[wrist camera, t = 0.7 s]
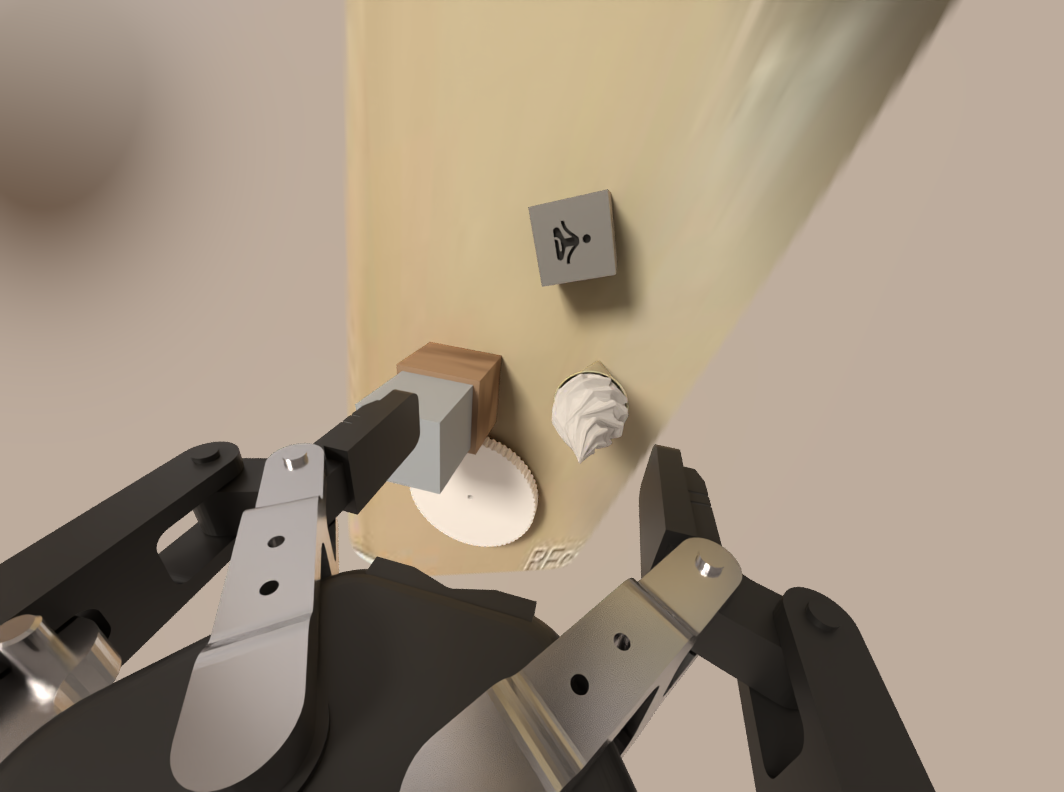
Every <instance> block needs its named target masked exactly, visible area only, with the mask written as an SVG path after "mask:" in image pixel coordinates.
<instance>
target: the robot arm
mask: <svg viewBox="0 0 1064 792" xmlns="http://www.w3.org/2000/svg"><path fill="white" fill-rule="evenodd" d="M419 437H420V416H419V399H418V396H417V394H415V393H411V392H406V391H402V390H397V389H394V390H392V391H391V392H390V393H388V394H387V395H386V396H385V397H383V398H382V399H381V400H375V401H373V402H370V403H368V404H365V405H363V406H361V407H360V408H359V409H358V410H356V411H355V412H354V413H352V416H351V415H350V416H349V417H347V418H346V419H345V420H344V421H343V422H341V423H339V424H338V425H337V426H336V427H334V428H333V429H332V430H330V431H329V432H328V433H327V434H325V435H324V436H323V437H321V438H320V439H319V440H317V441H316V442H315V443H314V444H310V443H300V444H294V445H290V446H286V447H283V448H281V449H279V450H277V451H276V452H274V453H273V454H271V455H270V457H268V458H266V459H265V458H264V459H263V458H260V459H259V458H252V459H251V458H242V457H241V454H240V451H239V448H238V447H237V446H236V445H235V444H233V443H230V442H211V443H207V444H202V445H199V446H196V447H193V448H191V449H189V450H187V451H185V452H183V453H182V454H180V455H178V456H177V457H175V458H173V459H172V460H170V461H169V462H167V463H165V464H163V465H162V466H160V467H159V468H157V469H155V470H154V471H152V472H150V473H149V474H147V475H145V476H144V477H142V478H141V479H139V480H137V481H136V482H134V483H132V484H131V485H129V486H127V487H126V488H124V489H122V490H121V491H119V492H118V493H116V494H114V495H113V496H111V497H109V498H108V499H106V500H104V501H103V502H101V503H99V504H98V505H97V506H95V507H93V508H91V509H90V510H88V511H86V512H85V513H83V514H81V515H80V516H78V517H77V518H75V519H73V520H72V521H70V522H68V523H67V524H65V525H63V526H62V527H60V528H58V529H57V530H55V531H54V532H52V533H50V534H49V535H47V536H45V537H44V538H42V539H40V540H39V541H37V542H36V543H34V544H32V545H31V546H29V547H27V548H26V549H24V550H23V551H21V552H19V553H17V554H16V555H15V556H13V557H11V558H9V559H8V560H6V561H4V562H3V563H1V564H0V792H637V790H636V788H635V786H634V784H633V782H632V780H631V778H630V775H629V773H628V771H627V769H626V767H625V765H624V763H623V760H622V757H623V756H624V755H625V753H626V752H627V751H628V749H629V748H630V747H631V746H632V744H633V743H634V742H635V740H636V739H637V737H638V736H639V735H640V734H641V732H642V731H643V729H644V728H645V726H646V725H647V723H648V722H649V721H650V719H651V717H652V716H653V714H654V713H655V711H656V710H657V709H658V707H659V706H660V704H661V703H662V702H663V700H664V699H665V698H666V697H667V695H668V694H669V693H670V691H671V690H672V689H673V688H674V686H675V685H676V684H677V682H678V681H679V680H680V679H681V677H682V676H683V675H684V673H685V672H686V671H687V669H688V668H689V667H690V666H691V664H692V663H693V662H694V660H695V659H696V658H697V657H698V655H699V656H701V657H703V658H704V659H706V660H707V661H709V662H711V663H712V664H714V665H715V666H717V667H719V668H720V669H722V670H724V671H725V672H727V673H728V674H730V675H732V676H733V677H735V678H737V680H738V686H739V692H740V698H741V704H742V710H743V716H744V722H745V727H746V734H747V739H748V746H749V751H750V757H751V763H752V769H753V775H754V781H755V787H756V792H935V790H934V787H933V786H932V783H931V781H930V779H929V777H928V775H927V773H926V771H925V769H924V766H923V764H922V762H921V760H920V758H919V756H918V754H917V752H916V749H915V747H914V745H913V743H912V741H911V739H910V737H909V735H908V733H907V731H906V729H905V726H904V724H903V722H902V720H901V718H900V716H899V714H898V711H897V709H896V707H895V706H894V703H893V701H892V699H891V697H890V695H889V693H888V691H887V688H886V686H885V684H884V682H883V680H882V678H881V676H880V674H879V671H878V669H877V667H876V665H875V663H874V661H873V659H872V656H871V654H870V652H869V650H868V648H867V646H866V644H865V642H864V640H863V638H862V635H861V633H860V631H859V629H858V627H857V626H856V624H855V623H854V621H853V620H852V618H851V617H850V616H849V615H848V614H847V613H846V612H845V611H844V610H843V609H842V608H841V607H840V606H839V605H838V604H836V603H835V602H834V601H832V600H831V599H829V598H828V597H826V596H825V595H823V594H821V593H819V592H817V591H814V590H811V589H808V588H804V587H794V588H790V589H789V590H787V591H786V592H785V594H784V595H783V596H782V595H780V594H777V593H775V592H774V591H772V590H770V589H767V588H766V587H764V586H762V585H760V584H758V583H756V582H754V581H752V580H750V579H749V578H747V577H746V576H744V575H743V574H742V571H741V568H740V565H739V563H738V562H737V560H736V559H735V558H734V557H733V555H732V554H731V553H730V552H729V551H727V550H726V549H725V548H724V547H722V545H721V541H720V537H719V534H718V530H717V526H716V522H715V519H714V515H713V511H712V508H711V504H710V500H709V497H708V492H707V488H706V485H705V482H704V480H703V479H702V478H701V476H700V475H699V474H698V473H697V471H696V470H695V469H692V468H687V467H683V462H682V457H681V452H680V450H679V449H675V448H670V447H665V446H661V445H656V444H655V445H654V446H653V449H652V452H651V455H650V458H649V462H648V464H647V468H646V471H645V474H644V477H643V480H642V484H641V488H640V495H639V518H640V550H641V580H639V581H638V582H637V581H636V580H635V579H634V578H630V579H627V580H626V581H624V582H623V583H622V584H621V585H620V586H618V587H617V588H616V589H615V590H614V591H613V592H612V593H610V594H609V595H608V596H607V597H606V598H605V599H603V600H602V601H601V602H600V603H599V604H598V605H596V606H595V607H594V608H593V609H592V610H591V611H589V612H588V613H587V614H586V615H585V616H584V617H583V618H581V619H580V620H579V621H578V622H577V623H575V624H574V625H573V626H572V627H571V628H570V629H569V630H567V631H566V632H565V633H564V634H563V635H562V636H559V635H558V634H557V633H556V632H555V631H554V630H553V629H552V628H550V627H549V626H548V625H547V624H545V623H544V622H543V621H541V620H540V619H538V618H537V617H535V616H534V613H535V608H536V601H532V600H528V599H525V598H521V597H518V596H514V595H511V594H507V593H504V592H499V591H497V590H475V589H451V588H448V587H446V586H444V585H443V584H441V583H439V582H438V581H436V580H434V579H433V578H431V577H429V576H428V575H426V574H425V573H423V572H421V571H420V570H418V569H416V568H415V567H412V566H409V565H405V564H401V563H398V562H394V561H391V560H387V559H384V558H380V557H376V559H375V560H374V561H373V563H372V564H371V566H370V567H369V568H368V569H360V570H352V571H346V572H342V573H339V557H338V554H339V553H338V520H337V516H338V515H339V514H340V513H341V512H342V511H346V512H350V513H354V514H357V515H358V514H359V512H360V511H361V510H362V509H363V508H364V507H365V505H366V504H367V503H368V502H369V501H370V500H371V498H372V497H373V496H374V495H375V494H376V493H377V492H378V490H379V489H380V488H381V487H382V486H383V485H384V483H385V482H386V481H387V480H388V479H389V478H390V476H391V475H392V474H393V473H394V472H395V471H396V470H397V468H398V467H399V466H400V465H401V464H402V463H403V461H404V460H405V459H406V458H407V457H408V456H409V454H410V453H411V452H412V451H413V450H414V449H415V447H416V445H417V443H418V441H419ZM192 510H193V511H194V513H195V516H196V518H197V520H198V523H196V524H195V525H194V526H193V527H191V528H190V529H189V530H188V531H187V532H185V533H184V534H183V535H182V536H180V537H179V538H178V539H177V540H175V541H174V542H173V543H172V544H171V545H169V546H168V547H167V548H165V549H164V550H163V551H162V552H160V553H159V554H158V553H157V549H156V547H157V543H158V540H159V538H160V536H161V535H162V534H163V533H164V532H165V531H166V530H167V529H168V528H169V527H171V526H172V525H173V524H175V523H176V522H177V521H179V520H180V519H181V518H183V517H184V516H185V515H187V514H188V513H189V512H190V511H192ZM229 561H230V564H229V568H228V572H227V576H226V579H225V583H224V587H223V591H222V595H221V599H220V603H219V607H218V610H217V614H216V618H215V622H214V626H213V630H212V634H211V635H209V636H207V637H205V638H203V639H201V640H199V641H197V642H195V643H193V644H191V645H189V646H187V647H185V648H183V649H181V650H179V651H177V652H175V653H173V654H171V655H169V656H167V657H165V658H163V659H161V660H159V661H157V662H155V663H153V664H151V665H149V666H147V667H145V668H143V669H141V670H139V671H137V672H135V673H133V674H131V675H129V676H127V677H125V678H123V679H121V680H119V681H117V682H115V683H113V682H114V681H115V679H116V677H117V675H118V674H119V671H120V668H121V666H122V665H123V664H124V663H126V662H127V660H129V658H131V657H132V656H133V655H134V654H135V653H136V652H137V651H138V650H139V649H140V648H141V647H142V646H143V645H144V644H145V643H146V642H147V641H148V640H149V639H150V638H151V637H152V636H153V635H154V634H155V633H156V632H157V631H158V630H159V629H160V628H161V627H162V626H163V625H164V624H165V623H167V622H168V621H169V620H170V619H171V617H172V616H174V615H175V614H176V613H177V611H179V610H180V609H181V608H182V607H183V606H184V605H185V604H186V603H187V602H188V601H189V600H190V599H191V598H192V597H193V596H194V595H195V594H196V593H197V592H198V591H199V590H200V589H201V588H202V587H203V586H204V585H205V584H206V583H207V582H209V581H210V580H211V579H212V577H214V576H215V575H216V574H217V573H218V572H219V571H220V570H221V569H222V568H223V567H224V566H225V565H226V564H227V563H228V562H229Z"/></svg>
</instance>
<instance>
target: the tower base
mask: <svg viewBox="0 0 1064 792" xmlns="http://www.w3.org/2000/svg"><path fill="white" fill-rule="evenodd" d="M501 359H502V356H501V355H495V354H490V353H485V352H480V351H475V350H469V349H464V348H459V347H454V346H448V345H443V344H438V343H433V342H429V343H428V344H426V345H425V346H423V347H422V348H420V349H419V350H417V351H416V352H414V353H413V354H411V355H410V356H408V357H407V358H405V359H404V360H402V361H401V362H399V363H398V364H397V374H399V373H400V372H401V371H405V372H410V373H415V374H420V375H425V376H430V377H435V378H440V379H445V380H450V381H455V382H460V383H465V384H470V385H473V397H472V421H471V446H470V450H469V451H468V453H470V454H475V455H476V453H477V452H478V450H479V449H480V447H481V445H482V444H483V442H484V440H485V439H486V437H487V436H488V434H489V432H490V431H491V429H492V428H493V426H494V424H495V423H496V420H497V407H498V395H499V383H500V371H501Z"/></svg>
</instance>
